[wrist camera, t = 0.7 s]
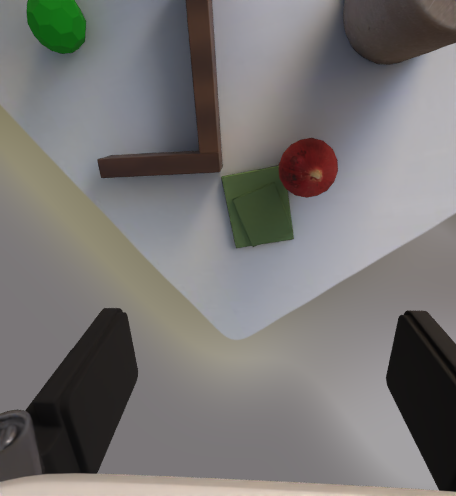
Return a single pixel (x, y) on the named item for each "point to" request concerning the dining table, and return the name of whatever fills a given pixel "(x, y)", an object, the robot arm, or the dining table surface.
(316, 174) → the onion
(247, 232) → the green rag
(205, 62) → the corner stop
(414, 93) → the dining table surface
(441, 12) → the pillar candle
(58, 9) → the polyhedron
